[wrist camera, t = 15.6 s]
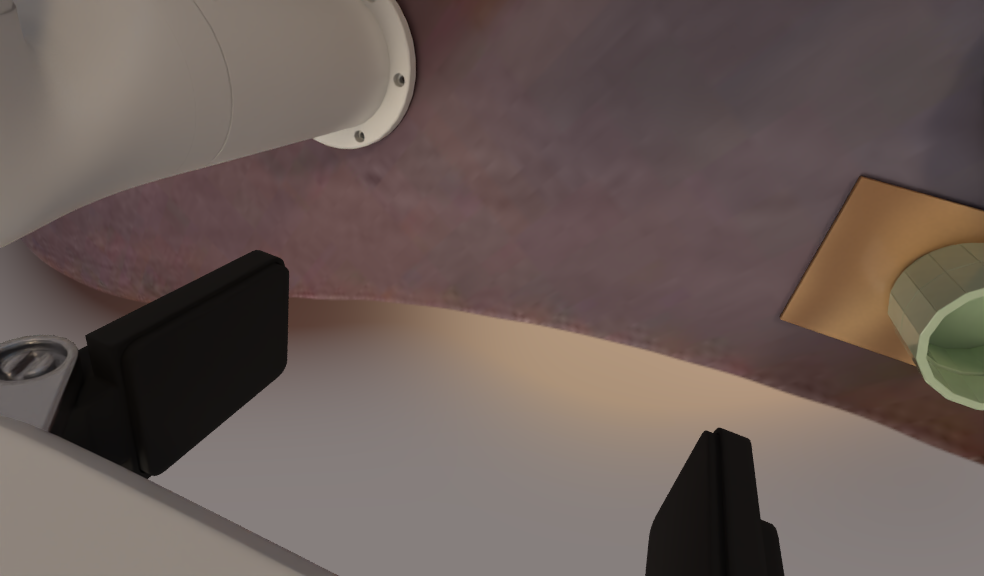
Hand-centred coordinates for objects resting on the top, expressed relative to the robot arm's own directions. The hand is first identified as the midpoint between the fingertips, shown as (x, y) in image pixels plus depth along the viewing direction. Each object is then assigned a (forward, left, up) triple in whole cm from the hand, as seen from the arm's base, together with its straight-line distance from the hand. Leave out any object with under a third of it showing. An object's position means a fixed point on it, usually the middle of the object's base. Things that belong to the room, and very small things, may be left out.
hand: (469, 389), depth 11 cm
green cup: (+21, -3, -27) cm, 34 cm away
